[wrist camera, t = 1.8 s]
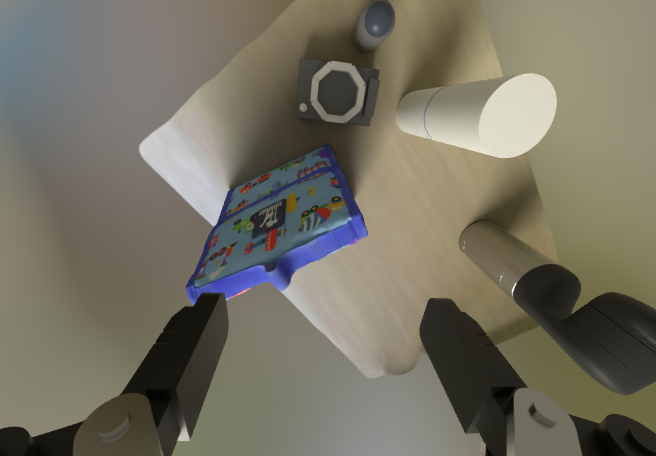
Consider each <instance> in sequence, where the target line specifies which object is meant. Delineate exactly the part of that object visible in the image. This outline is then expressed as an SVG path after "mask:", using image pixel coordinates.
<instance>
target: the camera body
mask: <svg viewBox="0 0 656 456" xmlns="http://www.w3.org/2000/svg"><path fill="white" fill-rule="evenodd" d="M379 71H380V70H378V69H371V68H364V67H358V66H354V65H353V66H352V64H350V63H344V62H337V61H331V62H330V61H329V62H325V61H319V60H312V59H306V58H300V67H299V83H298V100H297V116H296V117H300V118H308V119H316V120H324V121H328V122H336V123H347V124H355V125H363V126H370V122H371V117H373V114H374V109H375V103H376V97H377V92H378V86H379V81H380V80H378V76H379Z"/></svg>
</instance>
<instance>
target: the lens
mask: <svg viewBox="0 0 656 456" xmlns="http://www.w3.org/2000/svg"><path fill="white" fill-rule="evenodd" d="M394 25H395V12H394V9H393V7H392V5H391V4H390V3H389V2H388V1H387V0H372V1H371V2H369V3H368V4H367V6H366V7H365V9H364V11H363V12H362V14H361V16H360V18H359V19H358V21H357V23H356V25H355V26H354V29H353V32H352V40H353V44H354V46H355V47H356V49H357V50H359V51H360V52H363V53H367V52H370V51H372V50H373V49H375V48H376V47H377V46H378V45H379V44H380V43H381V42H383V41H384V40H385V39H386V38H387V37H388V36H389V35H390V34H391V32H392V30H393V28H394Z"/></svg>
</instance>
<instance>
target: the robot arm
mask: <svg viewBox="0 0 656 456" xmlns="http://www.w3.org/2000/svg"><path fill="white" fill-rule="evenodd" d="M459 247H460V249H461V251H462V252H463V253H464V254H465V255H466V256H467V257H468V258H469V259H470V260H471V261H472V262H473V263H474V264H475V265H476V266H478V267H479V268H480V269H481V270H482V271H483V272H484V273H485V274H486V275H487V276H488V277H489V278H490V279H491V280H492V281H493V282H494V283H495V284H497V285H498V286H499V287H500V288H501V289H502V290H503V291H504V292H505V293H506V294H507V295H508V296H509V297H510V298H511V299H512V300H513V301H515V302H516V303H517V304H518V305H519V306H520V307H521V308H522V309H523V310H524V311H525V312H526V313H528V314H529V315H530V316H531V317H532V318H533V319H534V320H535V321H536V322H537V323H538V324H539V325H540V326H541V327H542V328H543V329H544V330H545V331H546V332H547V333H548V334H549V335H550V336H551V337H552V338H553V339H554V340H555V341H556V343H557V344H558V345H559V346H560V347H561V348H562V349H563V350H564V351H565V352H566V353H567V354H568V355H569V356H570V357H571V358H572V359H573V360H574V361H575V362H576V363H577V364H578V365H579V366H580V367H581V368H582V369H583V370H584V371H585V372H586V373H587V374H589V375H590V376H591V377H592V378H593V379H595V380H596V381H597V382H598V383H600V384H601V385H603V386H604V387H606V388H607V389H609V390H611V391H613V392H615V393H618V394H622V395H630V394H633V393H635V392H637V391H639V390H641V389H643V388H645V387H646V386H648V385H650V384H652V383H654V382H655V381H656V310H655V309H653V308H652V307H650V306H648V305H646V304H644V303H642V302H640V301H638V300H636V299H634V298H631V297H629V296H626V295H623V294H620V293H615V292H609V293H605V294H602V295H600V296H598V297H596V298H594V299H593V300H591V301H590V302H589V303H588V304H586V305H584V306H583V307H581V308H580V309H579V310H577V311H576V312H575V313H573V314H572V315H571V312H572V309H573V307H574V305H575V303H576V301H577V300H578V298H579V295H580V291H581V284H580V281H579V279H578V278H577V277H576V276H575V275H574V274H573V273H572V272H570V271H569V270H567V269H566V268H564V267H562V266H561V265H559V264H558V263H556V262H554V261H553V260H551V259H550V258H548V257H546V256H545V255H543V254H542V253H540V252H538V251H537V250H535V249H534V248H532V247H531V246H529V245H527V244H526V243H524V242H523V241H521V240H519V239H518V238H516V237H515V236H513V235H512V234H510V233H508V232H507V231H505V230H504V229H502V228H500V227H499V226H497V225H496V224H494V223H493V222H490V221H479V222H476V223H474V224H472V225H470V226H469V227H467V228H466V229H465V230H464V232H463V233H462V235H461V237H460V240H459ZM228 326H229V325H228V315H227V305H226V296H225V293H216V292H203V293H201V294H200V296H199V298H198V299H197V301H196V303H195V304H194V306H193V307H188V306H185V307H184V308H182V309H181V310H180V311H179V312H178V313H176V314H175V315H174V316H173V317H172V318H171V319H170V321H169V322H168V324H167V325H166V327H165V328H164V330H163V333H161V334H160V336H159V337H158V339H157V340H156V343H155V344H154V345H153V346H152V348H151V349H150V351H149V353H148V354H147V356H146V357H145V359H144V360H143V362H142V363H141V365H140V366H139V368H138V369H137V371H136V372H135V374H134V375H133V377H132V378H131V380H130V381H129V383H128V384H127V386H126V387H125V389H124V390H123V392H122V393H121V394H120V395H119V396H117V397H115V398H112V399H111V400H109V401H107V402H105V403H104V404H102V405H101V406H99V407H98V408H97V409H96V410H94V412H92V413H91V414H90V415H89V416H88V417H87V418H86V420H84V421H82V422H79V423H76V424H73V425H70V426H67V427H64V428H61V429H58V430H54V431H51V432H48V433H45V434H42V435H38V436H35V437H31V436H30V434H29V433H28V431H27V430H25V429H24V428H21V427H7V428H3V429H0V456H171V455H172V453H173V450H174V447H175V445H176V443H177V441H186V440H190V439H191V436H192V434H193V431H194V428H195V425H196V422H197V420H198V417H199V414H200V411H201V409H202V406H203V403H204V400H205V397H206V395H207V391H208V389H209V386H210V383H211V381H212V378H213V375H214V372H215V370H216V367H217V364H218V361H219V358H220V356H221V353H222V350H223V347H224V345H225V342H226V339H227V335H228ZM420 338H421V341H422V343H423V346H424V348H425V350H426V352H427V354H428V356H429V358H430V360H431V362H432V364H433V367H434V368H435V370H436V373H437V375H438V377H439V379H440V381H441V383H442V385H443V387H444V390H445V392H446V394H447V396H448V398H449V400H450V402H451V404H452V406H453V408H454V411H455V413H456V415H457V417H458V419H459V421H460V423H461V425H462V427H463V429H464V432H465V433H466V434H467V433H480V435H481V437H482V439H483V443H482V445H481V452H480V456H656V434H655V433H654V432H652V431H651V430H650V429H648V428H647V427H645V426H643V425H642V424H640V423H639V422H637V421H635V420H633V419H630V418H628V417H626V416H622V415H618V414H610V415H608V416H607V417H606V418H605V419H604V420H603V421H602V422H601V423H600V424H599V423H596V422H592V421H589V420H586V419H582V418H579V417H576V416H572V415H569V414H567V413H566V411H565V410H564V409H563V408H562V407H561V406H560V405H558V404H557V403H556V402H555V401H554V400H552V399H551V398H550V397H548V396H547V395H545V394H543V393H541V392H539V391H537V390H533V389H530V388H528V387H527V386H526V384H525V383H524V382H523V381H522V379H521V378H520V377H519V375H518V374H517V373H516V372H515V370H514V369H513V368H512V366H511V365H510V364H509V363H508V361H507V360H506V359H505V357H504V356H503V355H502V354H501V352H500V351H499V350H498V348H497V347H496V346H494V343H493V342H492V341H491V339H490V338H489V337H488V336H486V333H485V332H484V330H483V329H482V328H481V327H480V325H479V324H478V323H477V322H476V321H475V320H474V319H472V318H471V317H470V316H469V315H467V314H466V313H465V312H461V311H460V310H459V308H458V307H457V306H456V304H455V303H454V302H453V300H451V299H449V298H430V299H429V301H428V303H427V306H426V309H425V312H424V315H423V318H422V321H421V324H420Z"/></svg>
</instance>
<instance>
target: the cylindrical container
mask: <svg viewBox="0 0 656 456" xmlns="http://www.w3.org/2000/svg"><path fill="white" fill-rule="evenodd" d="M556 104H557V100H556V93H555V90H554V88H553V86H552V84H551V83H550V82H549V81H548V80H547V79H546V78H545V77H542V76H541V75H537V74H521V75H515V76H509V77H502V78H495V79H489V80H482V81H476V82H469V83H463V84H456V85H449V86H443V87H437V88H430V89H424V90H417V91H413V92H410V93H408V94H406V95H405V96H404V97H403V98H402V99H401V101H400V102H399V104H398V106H397V109H396V121H397V124H398V126H399V128H400V129H401V130H402V131H404V132H406V133H409V134H413V135H416V136H420V137H424V138H428V139H431V140H435V141H439V142H443V143H446V144H450V145H454V146H458V147H461V148H465V149H469V150H472V151H476V152H480V153H484V154H487V155H491V156H495V157H499V158H512V157H515V156H518V155H521V154H523V153H525V152H527V151H528V150H529V149H531V148H533V147H534V146H535V145H536V144H537V143H538V142H539V141H540V140H541V139H542V138H543V137H544V135H545V134H546V132H547V131H548V129H549V128H550V125H551V123H552V121H553V119H554V115H555V112H556Z"/></svg>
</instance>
